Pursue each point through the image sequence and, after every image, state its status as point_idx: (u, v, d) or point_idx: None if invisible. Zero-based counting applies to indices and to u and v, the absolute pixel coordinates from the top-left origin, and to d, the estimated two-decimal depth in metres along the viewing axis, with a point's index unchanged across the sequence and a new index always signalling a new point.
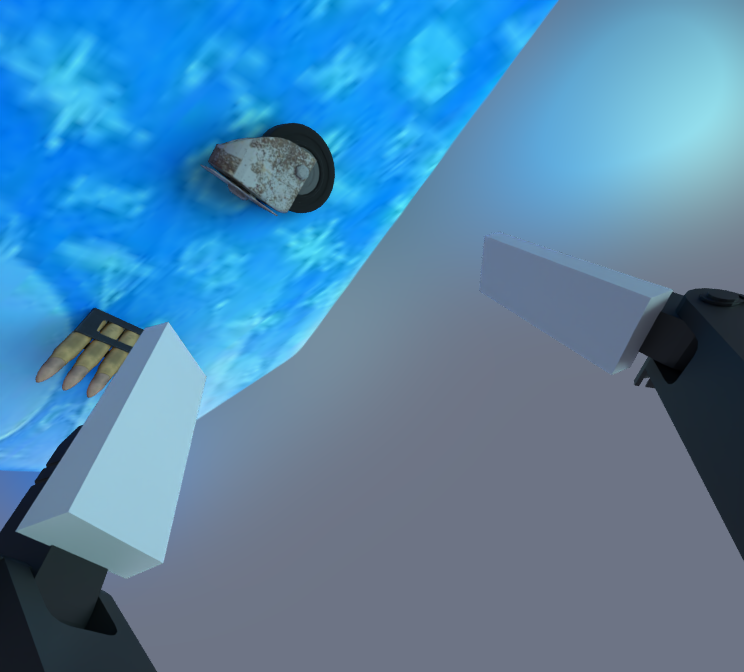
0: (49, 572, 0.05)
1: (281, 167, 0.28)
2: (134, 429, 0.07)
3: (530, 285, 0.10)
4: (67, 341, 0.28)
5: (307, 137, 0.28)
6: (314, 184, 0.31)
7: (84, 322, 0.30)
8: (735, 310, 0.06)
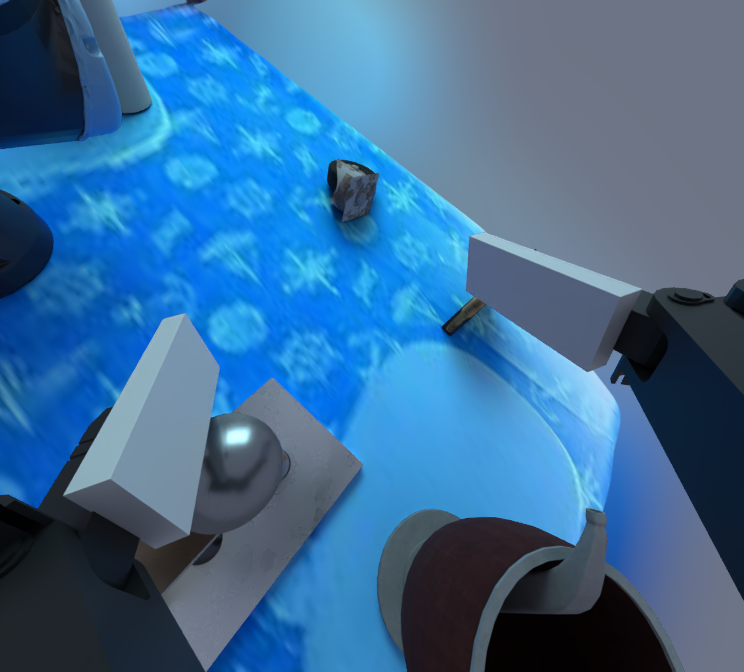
0: (91, 537, 0.05)
1: None
2: (160, 410, 0.07)
3: (512, 284, 0.11)
4: (468, 304, 0.36)
5: (336, 163, 0.46)
6: (361, 170, 0.47)
7: None
8: (700, 308, 0.07)
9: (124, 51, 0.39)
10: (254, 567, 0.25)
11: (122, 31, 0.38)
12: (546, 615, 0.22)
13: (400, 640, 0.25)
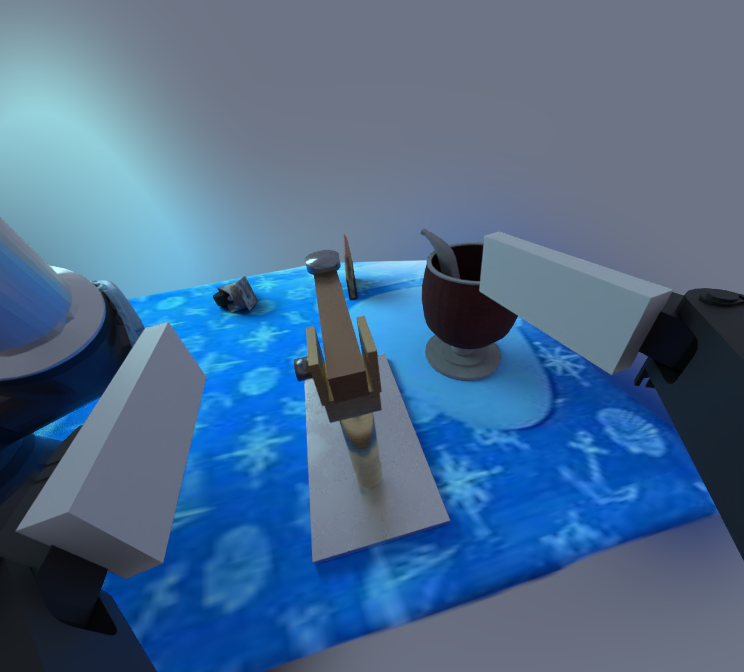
0: (49, 572, 0.05)
1: None
2: (134, 429, 0.07)
3: (530, 285, 0.10)
4: (346, 272, 0.61)
5: (216, 294, 0.67)
6: None
7: (347, 286, 0.64)
8: (735, 310, 0.06)
9: None
10: (393, 416, 0.38)
11: None
12: None
13: (474, 375, 0.43)
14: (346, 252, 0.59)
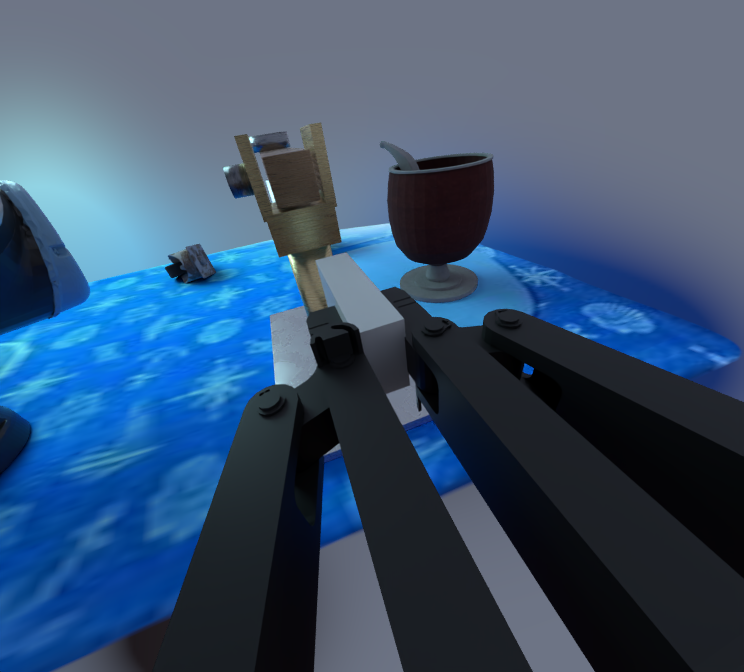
0: None
1: None
2: None
3: None
4: None
5: None
6: None
7: None
8: (445, 338, 0.07)
9: None
10: None
11: None
12: None
13: (453, 295, 0.41)
14: None
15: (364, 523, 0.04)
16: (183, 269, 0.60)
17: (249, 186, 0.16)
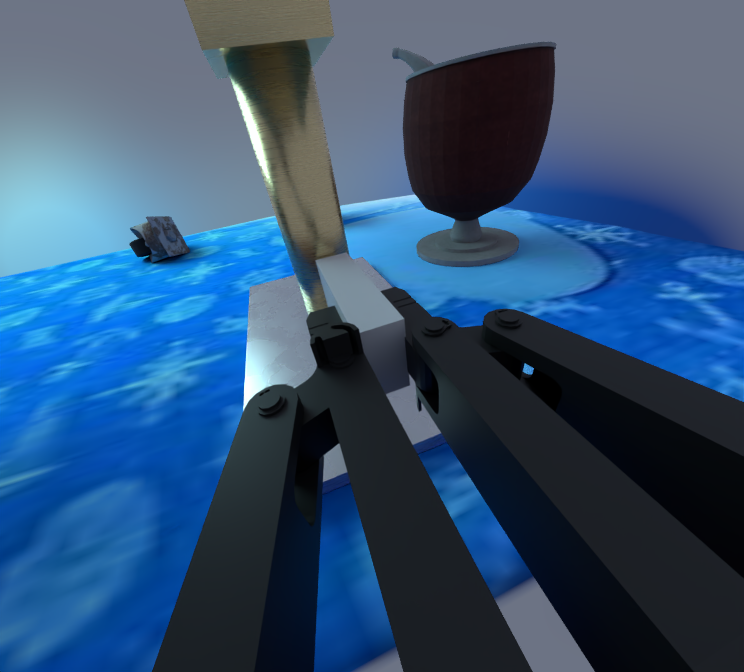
0: None
1: None
2: None
3: None
4: None
5: None
6: None
7: None
8: (446, 338, 0.07)
9: None
10: None
11: None
12: None
13: (489, 256, 0.31)
14: None
15: (364, 523, 0.04)
16: (148, 246, 0.50)
17: None
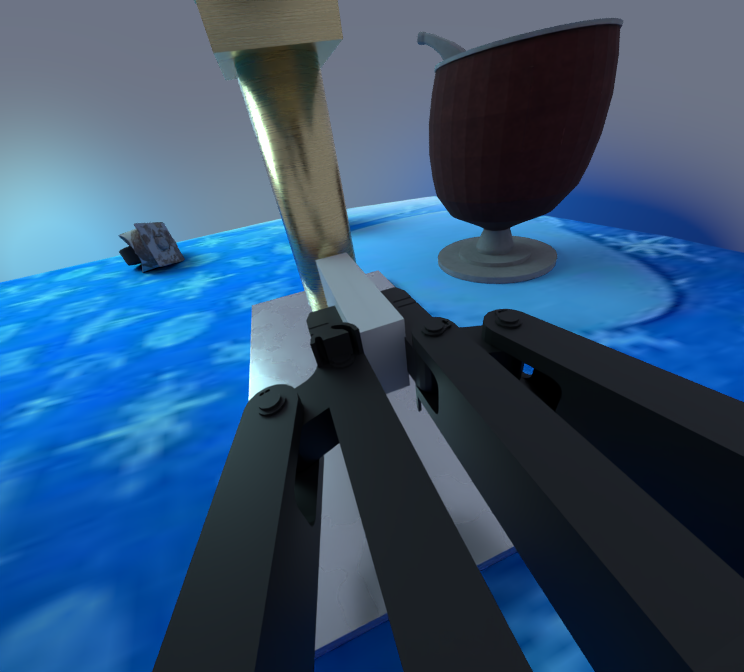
0: None
1: None
2: None
3: None
4: None
5: None
6: None
7: None
8: (445, 338, 0.07)
9: None
10: None
11: None
12: None
13: (526, 272, 0.27)
14: None
15: (364, 523, 0.04)
16: None
17: None
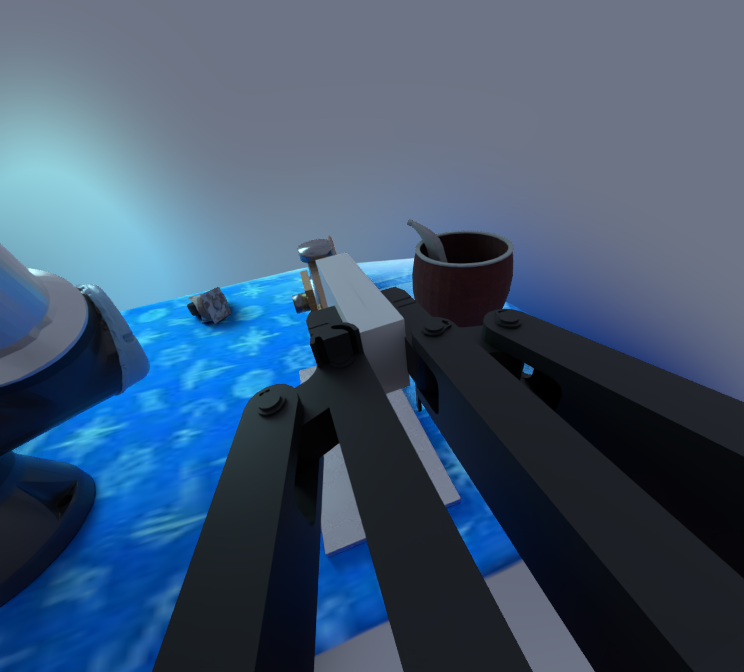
0: None
1: None
2: None
3: None
4: None
5: (191, 303, 0.66)
6: None
7: None
8: (445, 338, 0.07)
9: None
10: (393, 405, 0.38)
11: None
12: None
13: None
14: (333, 251, 0.59)
15: (364, 523, 0.04)
16: None
17: (308, 308, 0.24)
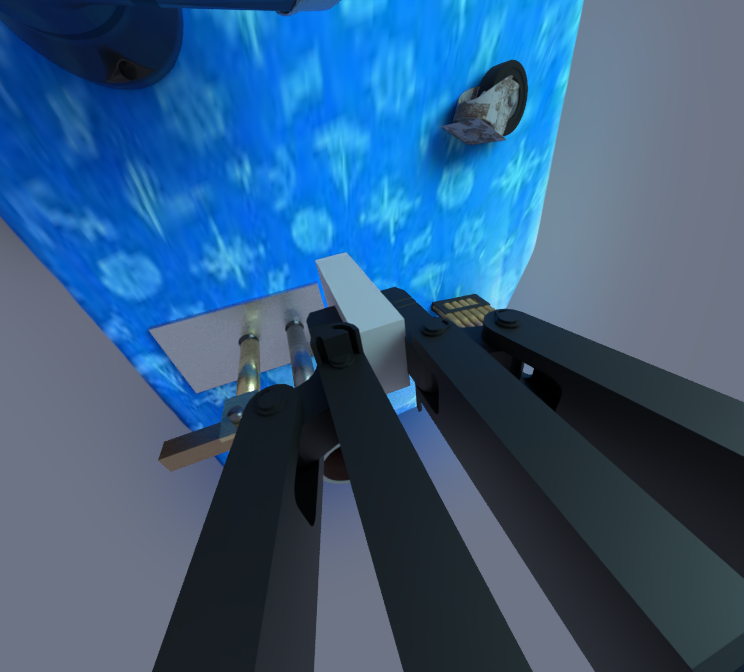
0: None
1: None
2: None
3: None
4: (451, 318, 0.53)
5: (513, 68, 0.37)
6: (515, 106, 0.40)
7: (441, 309, 0.55)
8: (445, 338, 0.07)
9: None
10: (267, 360, 0.51)
11: None
12: None
13: None
14: None
15: (364, 523, 0.04)
16: (480, 96, 0.38)
17: None
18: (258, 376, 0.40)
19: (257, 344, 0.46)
